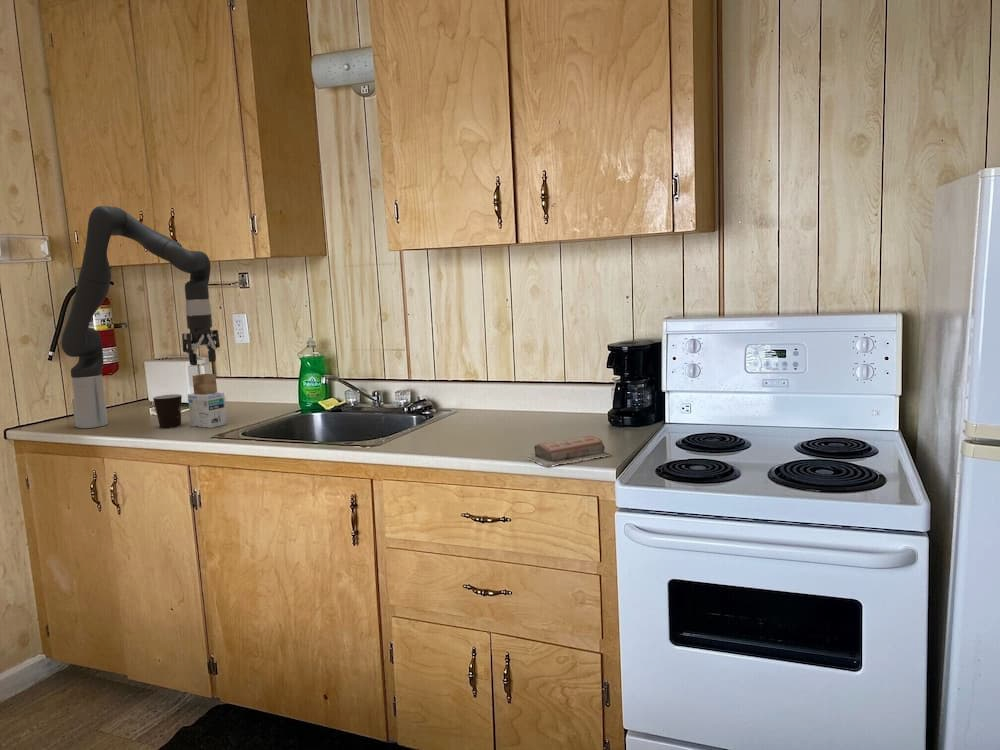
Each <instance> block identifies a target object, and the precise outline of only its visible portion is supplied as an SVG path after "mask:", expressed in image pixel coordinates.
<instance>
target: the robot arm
mask: <svg viewBox="0 0 1000 750" xmlns="http://www.w3.org/2000/svg"><path fill="white" fill-rule="evenodd" d="M87 223H88V224H87V230H86V231H87V232H86V241H85V248H84V253H83V257H82V262H81V267H80V271H79V273H78V279H77V283H76V289H75V293H74V297H73V301H72V305H71V309H70V312H69V316H68V319H67V322H66V324H65V327H64V330H63V333H62V336H61V343H60V345H61V348H62V351H63V353H64V354H65V355H66V356H68V357H71V358H78V361H77V363H76V364H75V365H74V366H73V367H72V368H71V369H70V376H71V379H70V380H71V386H72V393H73V394H72V395H73V398H72V400H71V404H72V411H73V412H72V414H73V419H74V421H73V422H74V426H75V428H77V429H90V428H91V429H92V428H98V427H99V428H100V427H104V426H107V425H108V423H109V422H108V414H107V407H106V406H107V405H106V396H105V388H104V380H103V379H104V378H103V367H104V351H103V349H104V348H103V340H102V337H101V335H100V332H98V330H97V329H95V328H92V327H90V322H91V320H92V319H93V316H94V315H95V313H96V312H97V311H98V310H99V308H100V307H101V306H102V305H103V302H104V301H105V300H106V298H107V296H108V293H109V290H110V286H111V281H112V270H111V266H110V262H109V259H108V248H109V243H110V239H111V237H112V236H120V237H124V238H127V239H131V240H132V241H134V242H137V243H138V244H139V245H141V246H142V247H143V248H144V249H145V250H146V251H148V252H149V253H150V254H152V255H154V256H156V257H158V258H160V259H162V260H164V261H167V262H168V263H170V264H171V265H172V266H173V267H174V268H176V269H178V270H180V271H181V272H184V273H186V274H190V276H189V280H188V281H187V282H185V283H184V284H185V285H184V293H185V294H184V295H185V314H186V315H185V316H186V326H187V329H188V330H189V332H187V333H182V334H181V335H182V336H181V337H182V340H181V341H182V352H183V353H186V354H188V359H189V365H190V366H197V365H198V359H197V358H198V356H197V350H198V349H199V348H200V346H205V347H206V348H207V350H208V351H207V355H208V356H207V357H208V362H209V363H210V362H211V363H215V362H216V361H217V360H216V359H217V356H216V355H217V354H216V351H217V349H219V348H220V347H221V345H220V338H219V330H218V329H211V328H212V327H213V319H212V308H211V306H212V305H211V303H210V302H211V301H210V296H209V293H210V292H209V283H210V282H209V281H210V275H211V261H210V258H209V256H208V254H207V253H206V252H204V251H202V250H201V251H199V250H197V251H196V250H189V249H187V248H185V247H183V246H182V244H181V243H180V242H179V241H176V240H175V239H173V238H170V237H169V236H167V235H164V234H163V233H160V232H158V231H157V230H154V229H152V228H150V227H149V226H147V225H145V224H144V223H142V222H141V221H139V220H138V219H137V218H135V217H133V216H132V215H131V214H129V213H128V212H127V211H125V210H124V209H122V208H120V207H118V206H108V205H98V206H96V207H95V208H93V209H92V211H91V212H90V213H89V217H88V222H87Z"/></svg>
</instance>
